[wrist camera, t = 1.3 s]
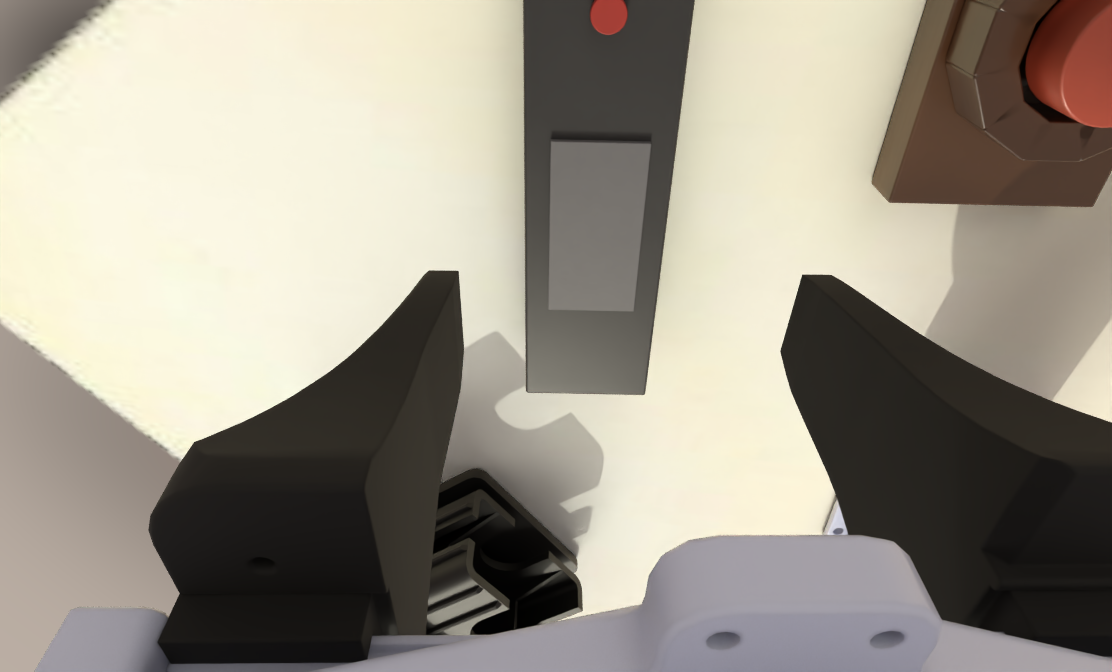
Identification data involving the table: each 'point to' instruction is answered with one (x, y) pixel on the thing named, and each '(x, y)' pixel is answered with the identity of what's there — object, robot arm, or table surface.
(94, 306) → the table surface
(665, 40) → the remote
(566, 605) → the end cap
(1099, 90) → the bell button
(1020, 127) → the bell block
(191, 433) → the table surface
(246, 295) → the table surface
